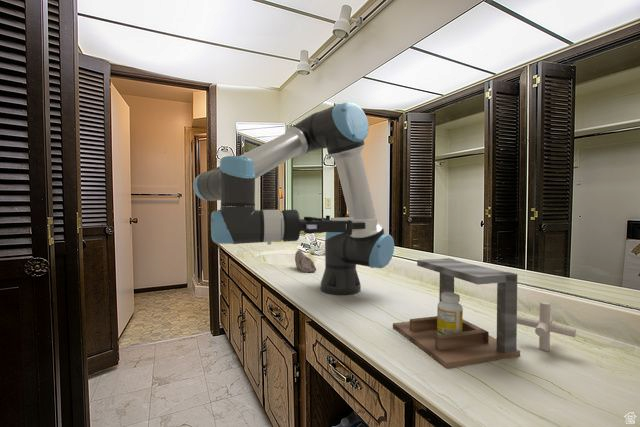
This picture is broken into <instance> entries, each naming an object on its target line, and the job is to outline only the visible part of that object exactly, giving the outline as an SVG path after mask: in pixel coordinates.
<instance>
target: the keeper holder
mask: <svg viewBox="0 0 640 427" xmlns="http://www.w3.org/2000/svg"><path fill="white" fill-rule="evenodd" d="M416 265H417V267H420V268H423V269H427V270H430V271H434V272H436V273H439V293H438V294H439V301H438V303H439V302H440V301H442V300H441V293H442V292H451V293H455V278H456V279H459V280H462V281H465V282H469V283H472V284H475V285H488V284H489V285H490V284H497V285H496V288H497V289H496V338H495V337H493V336H492V335H489V331H487V330H486V329H484V328H481V327H479V326H477V325H476V324H473V323H472V322H469V321H468V320H465V319H463V320H462V332H458V333H450V334H443V335H438V333H437V315H435V316H425V317H418V318H410V319H409V321H402V322H392V328H393V329H395V330H396V331H397V332H399V333H400V334H402V335H403V336H404V337H405V338H407V339H408V340H409V341H411V342H412V343H413V344H415V346H417V347H418V348H419V349H421V350H422V351H423V352H425V353H426V354H428V356H430V357H431V358H433V359H434V360H435V361H436V362H438V363H440V364H441V365H442V366H444V368H446V369H451V368H457V367H461V366H467V365H475V364H480V363H485V362H486V363H487V362H492V361H497V360H503V359H509V358H515V357H519V356H521V350H520V349H517V344H518V343H517V340H518V338H517V336H518V335H517V334H518V333H517V332H518V330H517V329H518V327H517V326H518V324H517V316H518V273H513V272H510V271H503V270H499V269H493V268H491V267H490V268H489V267H486V266H481V265H477V264H474V263H470V262H469V263H468V262H465V261H460V260H456V259H455V258H454V259H453V258H450V257H449V258H431V259H430V258H429V259H417V260H416Z"/></svg>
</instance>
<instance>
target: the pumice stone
mask: <svg viewBox="0 0 640 427" xmlns="http://www.w3.org/2000/svg"><path fill="white" fill-rule="evenodd" d="M294 260H295V261H294V262H295V267H296V268H297V270H300V271H301V272H303V273H305V274H306V273H312V272H316V271H317V268H316V265H315V263H314V261H313V259H312V258H311V257H308V256H307V255H305V254H304V253H303V251H302V250H300V249H299V250H296V253H295V256H294Z"/></svg>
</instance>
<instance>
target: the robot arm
mask: <svg viewBox="0 0 640 427" xmlns="http://www.w3.org/2000/svg"><path fill="white" fill-rule="evenodd" d="M369 129H370V126H369V120H368V117H367V115H366V114H365V112H364V110H363V109H362V108H361V107H360V106H359V105H358V104H356V103H354V102H348V101H347V102H343V103H338V104H336V105H333V106H330V107H328V108H325V109H322V110H321V111H320V110H319V111H317V112H314V113H312V114H309V115H308V116H306V117H305V118H303V119H302V120H301V121H299V122H297V123H295V124H294V125H292V126H290V127H288V128H287V129H285V132H284V133H283V134H281V135H280V136H277V137H275V138H273V139H271V140H269V141H267V142H265V143H264V144H261V145H259V146H257V147H256V148H253V149H251V150H249V151H248V152H245V153H243V154H241V155H226V156H223V157H221V159H220V161H219V165H218V166H217V167H215V168H213V169H210V170H209V171H203V172H202V173H200V174H198V175H197V176H196V177H195V178H194V180H193V183H192V187H193V191H194V194H195V195H196V196H197V197H198V198H199V199H200V200H203V201H209V202H214V201H220V209H218V210H213V211H212V212H211V215H210V216H211V218H210V231H211V232H210V234H211V235H210V236H211V240H212V242H213V243H215V244H219V245H220V244H222V245H223V244H226V245H228V244H229V245H230V244H232V245H239V244H254V243H255V244H256V243H266V244H267V245H269V246H271V245H272V242H273V243H274V242H275V243H276V242H278V243H279V242H280V241H283V242H297V241H299V239H300V235H301V234H300V233H301V232H303V233H304V234H307V235H311V234H322V233H325V239H324V246H325V247H324V249H325V250H324V256H325V259H324V261H325V262H324V263H325V264H324V266H325V268H324V272H323V275H322V277H321V281H320V290H321V291H322V292H324V293H326V294H330V295H332V294H333V295H339V296H340V295H352V294H353V295H354V294H357V293H359V292H360V291H361V288H362V287H361V286H362V285H361V281H360V278H359V275H358V271H357V265H358V266H363V267H364V266H365V267H368V268H371V269H375V268H376V269H383V268H386V266H388V265H389V263H390V262H391V261H392V258H393V256H394V252H395V241H394V237H393V236H391V234H390V233H385V229H384V225H383V224H382V223H380V222H378V219H377V215H376V210H375V207H374V202H373V199H372V198H373V197H372V194H371V188H370V184H369V180H368V176H367V171H366V168H365V164H364V159H363V154H362V151H363V150H364V148H365V145H366V143H365V141H364V140H365V139H366V138H367V137H368V135H369ZM323 149H326V151H327V153H328V156H329V157H331V158H333V159H334V162H335V167H336V169H337V174H338V178H339V181H340V185H341V189H342V194H343V197H344V201H345V205H346V209H347V213H348V216H347V217H330V216H331V215H325V217H315V216H303V218H300V212H299V211H298V210H297V209H282V210H280V209H260V210H258V209H256V179H258V178H259V177H261V176H263V175H265V174H267V173H268V172H270V171H272V170H273V169H275V168H277V167H278V166H280V165H282V164H284V163H286V162H287V161H289V160H291V159H293V158H294V157H296V156H299V157H300V156H304V155H306V154H307V153H310V152H313V151H318V150H323Z"/></svg>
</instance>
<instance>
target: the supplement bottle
mask: <svg viewBox="0 0 640 427" xmlns="http://www.w3.org/2000/svg"><path fill="white" fill-rule="evenodd" d="M460 298H461V296H460V294H458V293H455V292H454V293H451V292H442V293H441V300H442V301H440V302H439V301H438V303H437V309H436V310H437V315H436V316H437V333H438V335H443V334H450V333H458V332H462V320H464V319H463V315H464V313H463V311H464V310H463V309H464V308H463V306H462V305H461V303H460V300H461V299H460Z"/></svg>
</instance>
